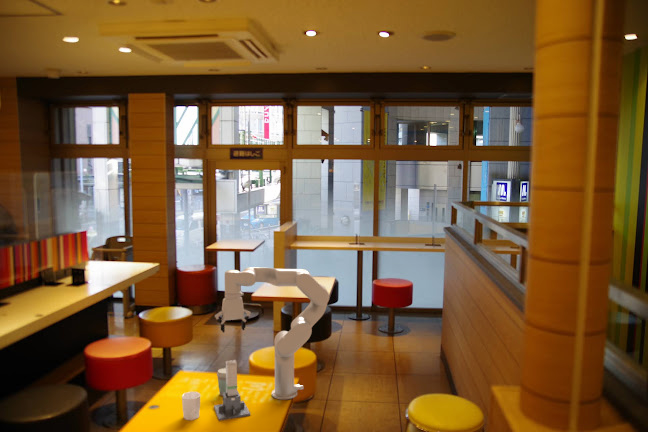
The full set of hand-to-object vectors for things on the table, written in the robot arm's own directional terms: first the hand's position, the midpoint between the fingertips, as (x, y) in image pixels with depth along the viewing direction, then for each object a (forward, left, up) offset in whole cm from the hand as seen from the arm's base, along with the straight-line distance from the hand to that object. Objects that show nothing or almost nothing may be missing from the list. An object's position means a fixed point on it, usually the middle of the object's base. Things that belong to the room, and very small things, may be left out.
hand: (233, 330), depth 250 cm
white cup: (+22, +13, -34) cm, 42 cm away
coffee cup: (+3, -5, -34) cm, 34 cm away
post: (+4, +15, -26) cm, 30 cm away
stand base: (+4, +15, -33) cm, 37 cm away
